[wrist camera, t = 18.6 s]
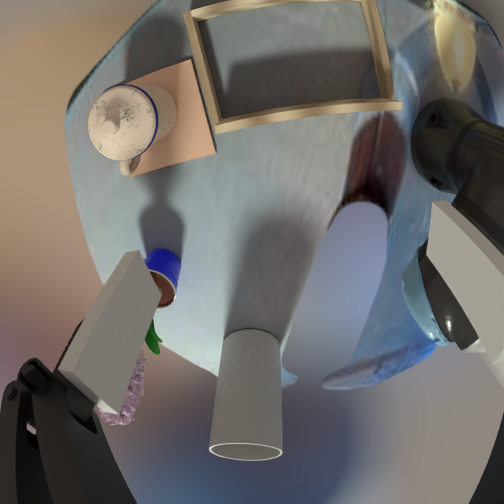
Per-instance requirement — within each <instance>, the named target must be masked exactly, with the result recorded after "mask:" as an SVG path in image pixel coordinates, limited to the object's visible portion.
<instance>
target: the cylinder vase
mask: <svg viewBox="0 0 504 504" xmlns="http://www.w3.org/2000/svg"><path fill="white" fill-rule="evenodd" d="M281 399H282V398H281V361H280V345H279V342H278V341H277V339H276V338H275V337H274V336H272V335H271V334H269V333H267V332H265V331H261V330H256V329H244V330H239V331H236V332H233V333H231V334H230V335H229V336H227V337H226V339H225V340H224V342H223V346H222V353H221V360H220V368H219V375H218V383H217V391H216V399H215V406H214V414H213V422H212V430H211V438H210V447H209V450H210V452H212V453H213V454H215V455H218V456H221V457H225V458H229V459H237V460H266V459H272V458H275V457H278V456H280V455H281V454H282V400H281Z"/></svg>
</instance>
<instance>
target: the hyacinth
mask: <svg viewBox="0 0 504 504" xmlns="http://www.w3.org/2000/svg"><path fill="white" fill-rule="evenodd" d="M144 262H145V264H146V266H147V268H148V270H149V272H150V274H151V276H152V278H153V280H154V282H155V284H156V286H157V288H158V290H159V291H160V293H161V295H162V296H161V298H160V301H159V303H158V306H157V308H166V307H168V306H170V305H172V303H173V302H174V301H175V298H176V289H177V284H178V279H179V274H180V269H181V264H180V261H179V259H178V257H177V256H176V255H175V254H174V253H172V252H171V251H169V250H166V249H156V250H153V251H152V252H151V253H150V254H149V255H148V256H147V257H146V258H145V260H144ZM157 341H158V342H160V343H162V340H161V339H160V338H159V337H158V336H157V334H156V333H155V329H154V322H153V319H152V321H151V324H150V327H149V329H148V332H147V334H146V337H145V342H146V344H147V346H148V347H149V349H150V350H151V351H152V352H153V353H155V354H157V355H159V354H160V350H159V346H158V343H157ZM141 353H142V350H141V351H140V355H142V354H141ZM144 361H145V358H144V356H143V355H142V356H138V359H137V362H136V365H135V368H134V371H133V374H132V376H131V379H130V382H129V385H128V388H127V391H126V395H125V398H124V401H123V404H122V407H121V410H120V414H114V415H113V413H108V412H104V411H102V410H101V409H100V408H98V407H97V408H98V409H99V410H98V409H97V410H98V412H99V413H102V414H101V416H100V417H101V418H102V419H103V418H104V420H105V422H107V421H109V420H110V421H111V419H113V422H114V423H113V424H112V425H114V424H115V425H116V424H117V423H119V424H123V425H124V424H126V422H127V424H129V423H130V420H131V421H133V420H134V418H132V417H131V416H132V415H133V412H134V411H136V409H134V407H135V406H136V405H138V404H139V403H140V402H137V401H138V400H137V398H139V397H140V395H139V394H138V393H142V396H143V392H144V389H143V388H142V387H144V384H145V382H144V381H145V380H143V379H144V377H142V376H144V374H145V373H144V367H145V365H144ZM141 365H143V366H141ZM140 372H141V373H142V374H140ZM138 373H139V374H138ZM142 380H143V381H142ZM134 382H135V383H134ZM135 388H136V389H135ZM133 397H134V398H133ZM134 401H135V402H134ZM139 401H140V399H139ZM126 404H127V405H126ZM129 406H130V408H129ZM130 414H131V415H130ZM110 415H111V416H113V417H111V418H109V417H110ZM106 419H107V421H106ZM121 422H122V423H121Z"/></svg>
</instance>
